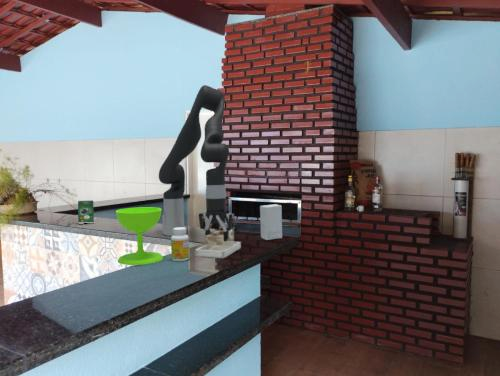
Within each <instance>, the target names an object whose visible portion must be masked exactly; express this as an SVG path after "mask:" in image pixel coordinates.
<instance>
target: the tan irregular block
mask: <svg viewBox="0 0 500 376" xmlns="http://www.w3.org/2000/svg"><path fill="white" fill-rule="evenodd" d="M223 232H224V230H223V229H222V230H220V229H219V230H216V231H214V230H212V231H211V234H209V235H206V236H205V235H204V237H203V243H204V245H222V244H224V243H226V242H227V241H229V240H231V239H233V231H229V239H228V240H227V241H224V236H223Z"/></svg>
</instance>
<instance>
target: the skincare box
mask: <svg viewBox="0 0 500 376" xmlns="http://www.w3.org/2000/svg"><path fill="white" fill-rule="evenodd" d="M282 209H283V208H282V205H281V204H277V203H275V204H267V205H266V204H264V205H260V206H259V217H260V221H259V222H260V238H261V239H263V240H266V241H268V240H269V241H271V240H275V239H276V240H277V239H283V216H282V215H283V214H282V213H283V211H282Z"/></svg>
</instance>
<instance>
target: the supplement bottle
mask: <svg viewBox="0 0 500 376" xmlns="http://www.w3.org/2000/svg"><path fill="white" fill-rule="evenodd" d="M173 233H174V235H173V236H171V237H170V243H171V244H170V245H171V246H170V247H171V248H170V249H171V260H172V261H173V262H183V261H188V260H189V259H190V243H189V241H190V238H189V235H188V234H186V233H187V227H185V226H184V227H177V228H173Z"/></svg>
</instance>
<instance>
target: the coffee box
mask: <svg viewBox="0 0 500 376" xmlns="http://www.w3.org/2000/svg"><path fill="white" fill-rule="evenodd" d="M94 213H95V212H94V200H78V201H77V217H78V219H77V221H78V222H95V220H94ZM78 222H77V223H78Z"/></svg>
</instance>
